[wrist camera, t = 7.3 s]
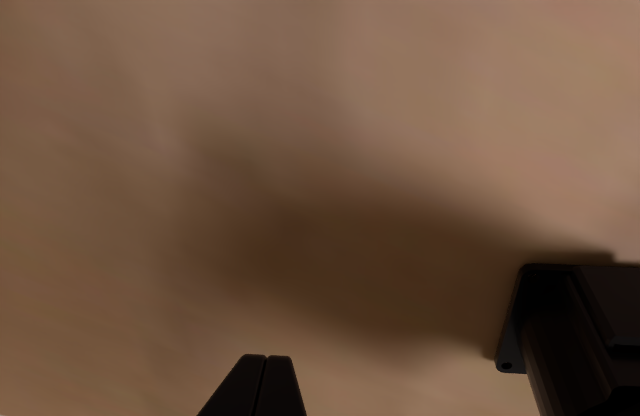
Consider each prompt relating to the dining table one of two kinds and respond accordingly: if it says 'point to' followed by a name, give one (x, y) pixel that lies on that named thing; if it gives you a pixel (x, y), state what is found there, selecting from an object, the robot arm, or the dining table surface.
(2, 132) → the dining table surface
